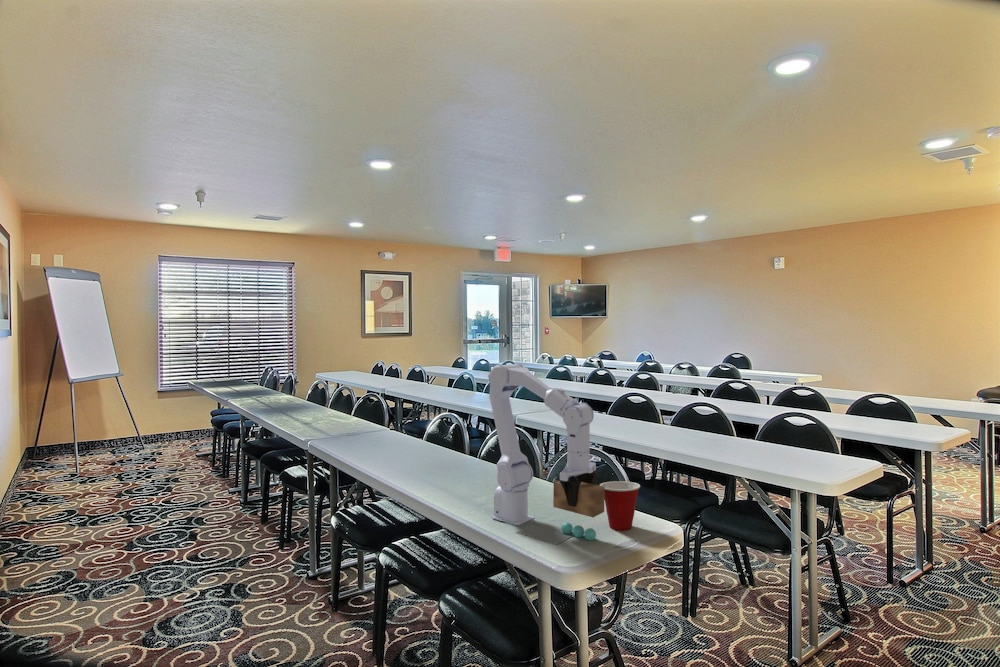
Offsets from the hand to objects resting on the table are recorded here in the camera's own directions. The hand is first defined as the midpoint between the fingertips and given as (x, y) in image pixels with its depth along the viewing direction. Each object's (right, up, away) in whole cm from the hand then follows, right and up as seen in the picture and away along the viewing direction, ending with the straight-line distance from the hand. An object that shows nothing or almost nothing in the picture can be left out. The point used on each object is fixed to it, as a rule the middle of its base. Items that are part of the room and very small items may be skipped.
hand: (578, 502), depth 144 cm
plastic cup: (+12, -9, +7) cm, 17 cm away
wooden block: (0, -2, 0) cm, 2 cm away
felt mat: (-9, -9, +1) cm, 13 cm away
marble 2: (0, -9, 0) cm, 9 cm away
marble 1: (-3, -9, +2) cm, 10 cm away
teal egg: (+3, -9, -2) cm, 10 cm away
